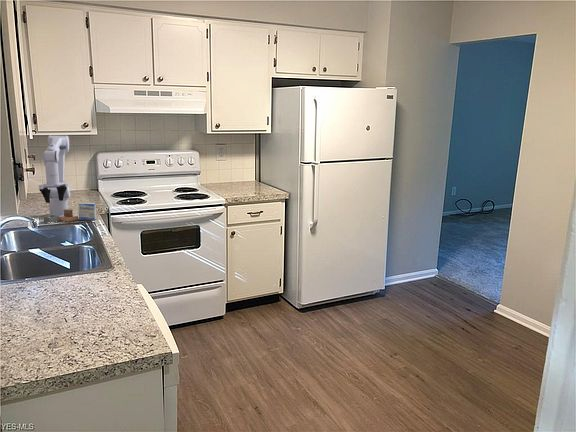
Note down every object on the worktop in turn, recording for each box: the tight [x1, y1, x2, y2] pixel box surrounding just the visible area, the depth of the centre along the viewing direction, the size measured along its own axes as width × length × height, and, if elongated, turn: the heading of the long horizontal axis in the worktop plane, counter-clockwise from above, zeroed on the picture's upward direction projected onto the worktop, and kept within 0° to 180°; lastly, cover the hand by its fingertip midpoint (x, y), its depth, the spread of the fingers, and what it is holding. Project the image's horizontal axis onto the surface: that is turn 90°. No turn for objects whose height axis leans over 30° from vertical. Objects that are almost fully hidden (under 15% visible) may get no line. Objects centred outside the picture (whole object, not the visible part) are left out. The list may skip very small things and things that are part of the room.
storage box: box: [42, 214, 60, 224], centre depth 232 cm, size 5×5×3 cm
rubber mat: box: [59, 218, 80, 223], centre depth 237 cm, size 8×8×1 cm
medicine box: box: [78, 202, 97, 221], centre depth 238 cm, size 8×4×9 cm, turn 105°
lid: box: [59, 208, 79, 221], centre depth 236 cm, size 6×6×5 cm
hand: (54, 201), depth 231 cm, fingers open, 7 cm apart
